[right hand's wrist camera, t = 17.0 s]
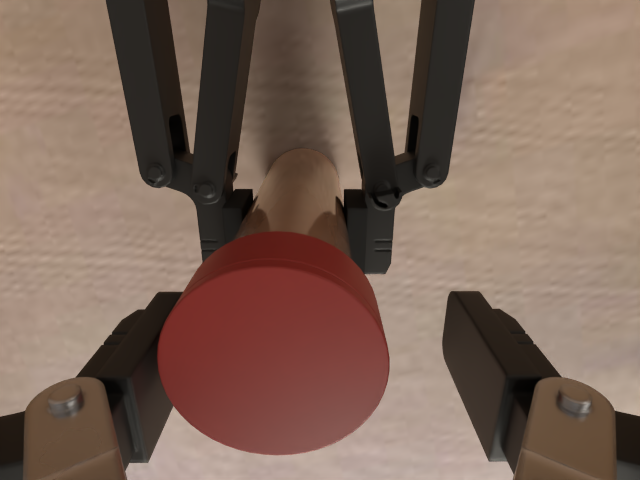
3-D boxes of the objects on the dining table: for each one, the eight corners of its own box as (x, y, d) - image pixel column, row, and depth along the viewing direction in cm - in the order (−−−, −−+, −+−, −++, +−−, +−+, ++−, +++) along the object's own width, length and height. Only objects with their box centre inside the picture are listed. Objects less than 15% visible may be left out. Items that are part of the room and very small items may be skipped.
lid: (144, 289, 10) (106, 335, 8) (315, 192, 9) (315, 221, 7) (254, 421, 12) (242, 483, 10) (410, 349, 11) (428, 404, 9)
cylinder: (312, 133, 22) (298, 234, 8) (352, 193, 24) (399, 369, 10) (252, 174, 23) (149, 329, 9) (294, 230, 24) (259, 441, 10)
